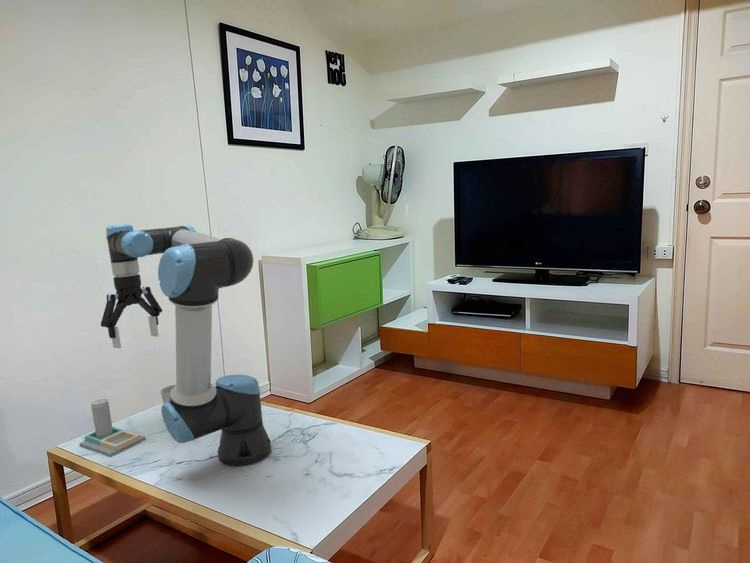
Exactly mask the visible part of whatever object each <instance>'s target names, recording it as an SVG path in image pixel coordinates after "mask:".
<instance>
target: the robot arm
mask: <svg viewBox="0 0 750 563" xmlns="http://www.w3.org/2000/svg"><path fill="white" fill-rule="evenodd" d="M105 229H106V231H105V232H106V237H105V238H106V241H107V248H108V252H109V258H110V265H111V272H112V275H113V276H114V277H113V283H114V284H113V285H114V289H115V291H116V292H115V294H111V293H109V294H108V293H107V295H106V303H105V307H104V310H103V311H104V312H103V315H102V318H101V322H100V326H101V327H102V328H107V331H108V336H109V339H111V341H112V348H113V349H122V344H121V336H120V332H119V331H120V330H119V326H116V325H117V324H118V321H119V320H120V317H121V316H122V315H123V312H124V310H125V309H126V307H130V306H132V305H137V304H138V305H139V307H141V309H143V310H144V311H145V312H146V313H147V314H149V315H150V316H149V315H148V316H147V317H148V324H149V333H150V336H151V337H156V338H157V337H159V330H158V325H159V319H158V318H159V316H160V314H161V313H163V309H162V307H161V306H160V304H159V303H158V301H157V299H156V297H155V296H154V294H153V293H152V290H151V287H150V286H142V280H141V274H139V273H140V266H139V260H138V259H139V258H143V257H144V258H145V257H146V256H152V255H153V256H154V255H160V254H161V257H160V259H159V261H158V262H159V263H158V267H157V278H158V281H159V287H160V290H161V292H162V293H163V294H164V295H165V296H166V297H168V301H169V302H170V303H172V305H174V306H175V381H176V382H175V385H176V386H175V387H174V388H173V389H172V390H171V392H170V401H169V402H166V403H162V405H161V410H160V411H161V417H162V420H163V422H164V426H165V428H166V430H167V432H168V434H169V435H170V436H171V438H172V440H174V441H175V442H176V443H178V444H185V443H189V442H192V441H193V442H195V441H196V440H197V439H199V438H202V437H206V436H208V435H211V434H213V433H216V432H218V431H220V430H221V432H220V433H221V434H220V438H219V439H220V440H219V446H218V449H217V459H218V461H219V462H220V463H221V464H223V465H224V466H227V467H246V466H250V465H253V464H257V463H259V462H261V461H262V460H265V459H266V458H267V457H268V456H269V455H270V454H271V452H272V450H273V449H272V443H271V439H270V438H269V435H268V433H267V431H266V429H265V426H264V423H263V422H264V421H263V415H262V414H263V413H262V403H261V402H262V400H261V390H260V384H259V381H258V380H257V378H255V377H253V376H251V375H245V374H229V375H223V376H220V377H218V378H217V379H216V381H215V383H214V384H215V385H214V384H212V383H211V382H212V333H213V332H212V328H213V326H212V324H213V323H212V320H213V319H212V318H213V305H214V304H215V303H216V302H218V300H219V293H220V292H219V289H223V288H226V287H227V288H228V287H232V286H235V285H238V284H240V283H241V282H243V281H244V280H245V279H246V278H247V277H248V276H249V274H250V273H251V272H252V269H253V266H254V265H253V264H254V255H253V252H252V250H251V248H250V247H249V245H247V244H246V243H245V242H244V241H242V240H238V239H236V238H232V237H223V238H217V237H213V236H210V235H207V234H204V233H200V232H197V231H196V229H195V228H194V227H193V226H191V225H179V226H178V225H177V226H173V227H162V228H150V229H141V230H134V227H133V225H132V224H130V223H129V224H127V223H126V224H116V225H115V224H113V225H108V226H107V227H106V228H105ZM141 286H142V287H141ZM142 294H143V296H144V297H145V298H143V297H142ZM145 299H146V300H145ZM116 301H117V302H116Z"/></svg>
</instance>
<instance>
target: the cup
mask: <svg viewBox="0 0 750 563" xmlns="http://www.w3.org/2000/svg"><path fill="white" fill-rule="evenodd" d="M175 386H176V384H172V385H168V386H165V387H163V388H162V389H160V394H161V399H162V401H163V403H162V404H164V403H166V402H169V401H170V392H171V390H172V389H173V388H174V387H175Z"/></svg>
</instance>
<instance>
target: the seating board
mask: <svg viewBox="0 0 750 563" xmlns="http://www.w3.org/2000/svg"><path fill="white" fill-rule="evenodd" d="M112 429H113V434H112V435H109V436H107V437H105V438H103V439H98V438H97V437H96V431H95V430H94V431H93V432H91V433H89V434H86V435H84V440H82V441H81V442H79V443H78V444H79V447H81V448H84V449H87V450H90V451H93V452H95V453H98V454H101V455H103V456H106V457H110V458H111V457H114V456H116V455H118V454H120V453H122V452H124V451H126V450H128V449H130V448H132V447H134V446H136V445H138V444H141V443H142V442H144V441H146V439H147V437H146V436H145V435H141V434H138V433H135V432H131V431H127V430H124V429H122V428H118V427H115V426H112Z"/></svg>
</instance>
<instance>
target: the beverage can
mask: <svg viewBox="0 0 750 563" xmlns="http://www.w3.org/2000/svg"><path fill="white" fill-rule="evenodd" d="M90 406H91V412H92V419H93V424H94V429H95V430H94V432H95V431H96V437H97V438H98V439H103V438H105V437H107V436H109V435H112V434H113V429H112V427H113V425H112V424H113V423H112V417H111V411H110V404H109V400H108V399H107V398H100V399H95V400H94V401H92V402H91V405H90Z"/></svg>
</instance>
